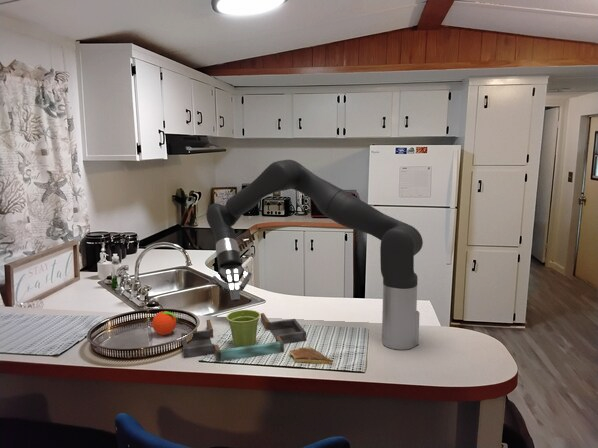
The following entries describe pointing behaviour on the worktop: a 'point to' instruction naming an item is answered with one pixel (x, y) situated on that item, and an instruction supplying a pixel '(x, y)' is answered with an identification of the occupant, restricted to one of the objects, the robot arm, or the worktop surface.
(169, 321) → the clementine
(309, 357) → the shard
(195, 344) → the two-trap channel
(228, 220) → the robot arm
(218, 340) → the worktop surface
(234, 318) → the plant pot
